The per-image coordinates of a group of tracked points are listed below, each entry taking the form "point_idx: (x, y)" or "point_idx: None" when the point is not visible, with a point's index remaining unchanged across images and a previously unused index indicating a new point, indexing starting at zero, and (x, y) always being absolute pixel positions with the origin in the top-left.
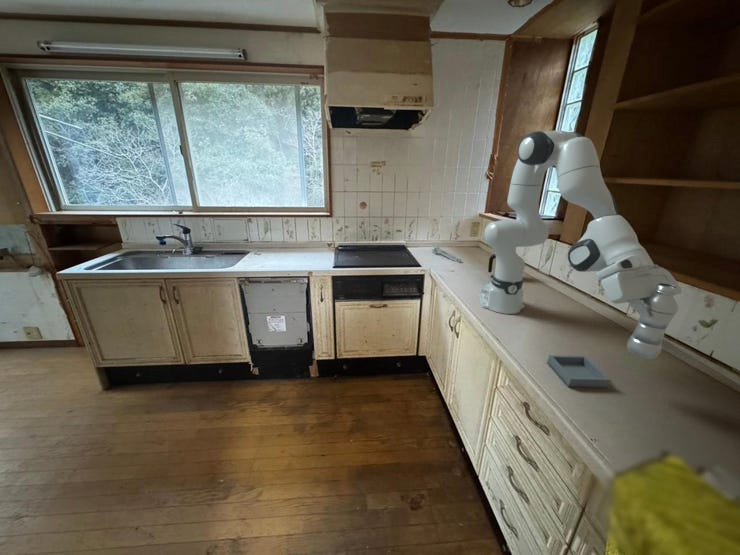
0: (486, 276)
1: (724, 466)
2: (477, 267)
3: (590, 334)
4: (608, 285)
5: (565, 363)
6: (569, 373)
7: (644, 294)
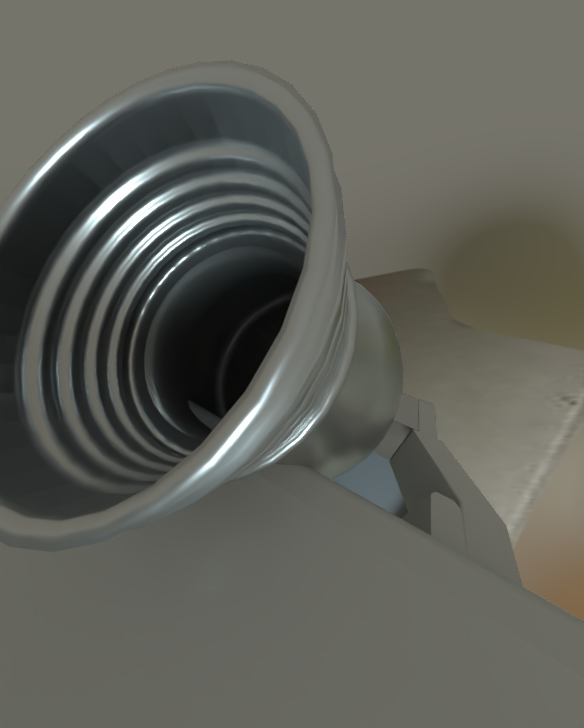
0: None
1: (414, 275)
2: None
3: None
4: None
5: None
6: (389, 499)
7: (391, 556)
